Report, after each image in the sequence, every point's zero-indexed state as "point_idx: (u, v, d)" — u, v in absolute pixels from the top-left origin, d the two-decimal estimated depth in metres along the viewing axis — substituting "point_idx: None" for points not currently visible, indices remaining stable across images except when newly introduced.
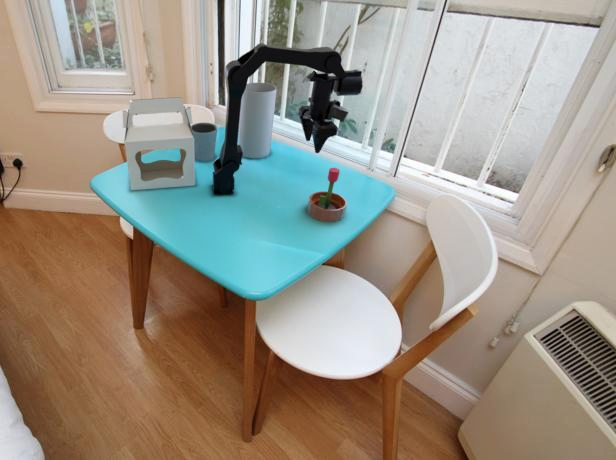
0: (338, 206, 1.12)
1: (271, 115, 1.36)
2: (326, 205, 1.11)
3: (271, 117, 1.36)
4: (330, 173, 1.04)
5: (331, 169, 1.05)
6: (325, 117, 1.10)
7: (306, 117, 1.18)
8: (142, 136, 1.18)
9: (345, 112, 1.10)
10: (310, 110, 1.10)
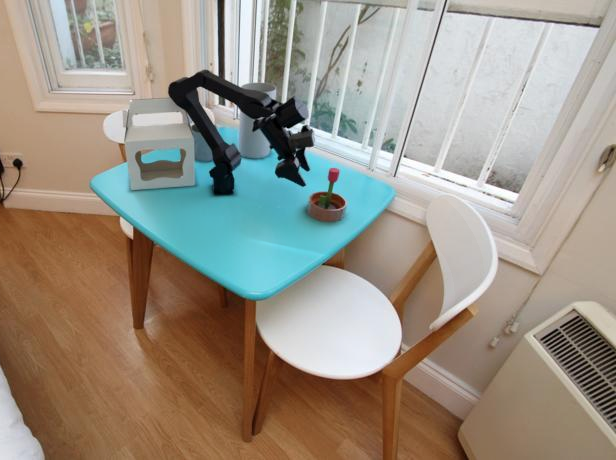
0: (338, 206, 1.12)
1: (271, 115, 1.36)
2: (326, 205, 1.11)
3: None
4: (330, 173, 1.04)
5: (331, 169, 1.05)
6: (290, 152, 1.04)
7: None
8: (142, 136, 1.18)
9: (306, 138, 1.01)
10: None
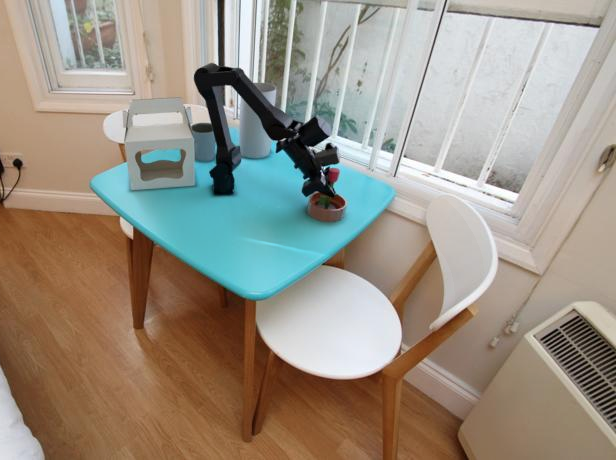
0: (338, 206, 1.12)
1: None
2: (326, 205, 1.11)
3: None
4: (330, 173, 1.04)
5: (331, 169, 1.05)
6: (315, 170, 1.04)
7: None
8: (142, 136, 1.18)
9: (331, 155, 1.00)
10: None
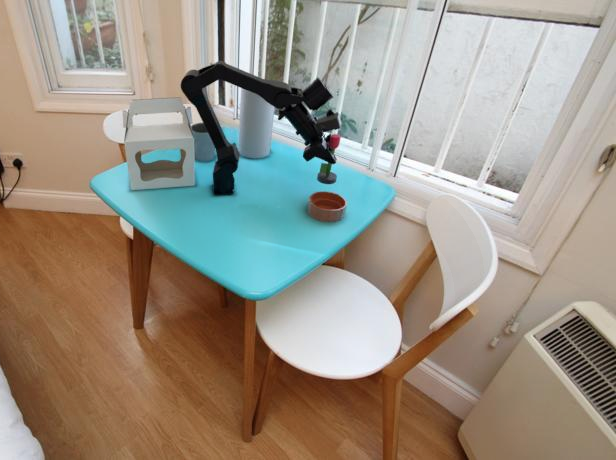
0: (338, 206, 1.12)
1: (271, 115, 1.36)
2: (327, 172, 1.13)
3: (271, 117, 1.36)
4: (331, 139, 1.06)
5: (332, 135, 1.06)
6: (317, 136, 1.06)
7: None
8: (142, 136, 1.18)
9: (332, 120, 1.02)
10: (302, 137, 1.10)
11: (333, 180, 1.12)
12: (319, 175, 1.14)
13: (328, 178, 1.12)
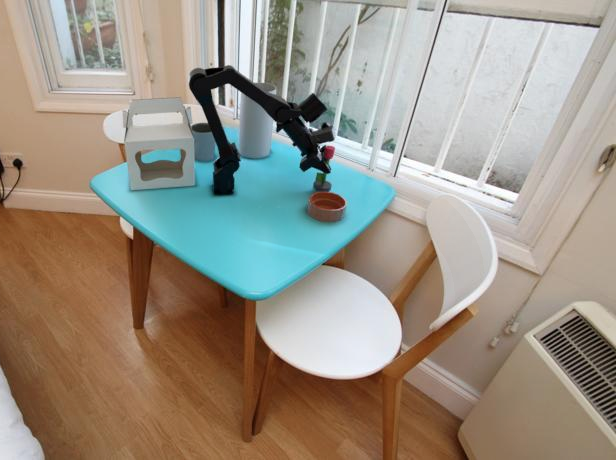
0: (338, 206, 1.12)
1: None
2: (322, 181, 1.19)
3: None
4: (326, 150, 1.12)
5: (327, 147, 1.13)
6: (312, 148, 1.12)
7: None
8: (142, 136, 1.18)
9: (327, 133, 1.08)
10: (299, 149, 1.16)
11: (328, 189, 1.18)
12: (315, 184, 1.20)
13: (323, 187, 1.18)
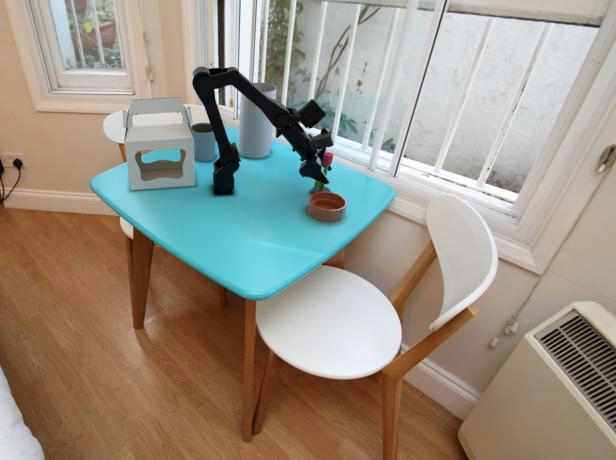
0: (338, 206, 1.12)
1: None
2: (321, 187, 1.20)
3: None
4: (324, 157, 1.14)
5: (325, 154, 1.14)
6: (312, 153, 1.13)
7: None
8: (142, 136, 1.18)
9: (326, 138, 1.09)
10: None
11: None
12: (314, 190, 1.21)
13: None
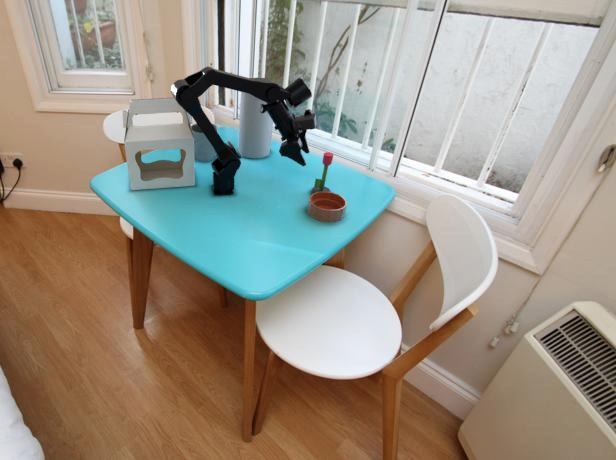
0: (338, 206, 1.12)
1: None
2: (321, 187, 1.20)
3: None
4: (324, 157, 1.14)
5: (325, 154, 1.14)
6: (293, 133, 1.13)
7: None
8: (142, 136, 1.18)
9: (309, 120, 1.10)
10: (280, 133, 1.17)
11: None
12: (314, 190, 1.21)
13: None
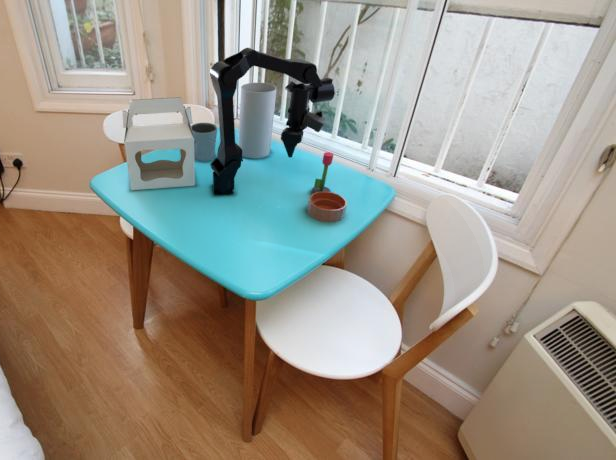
0: (338, 206, 1.12)
1: (271, 115, 1.36)
2: (321, 187, 1.20)
3: (271, 117, 1.36)
4: (324, 157, 1.14)
5: (325, 154, 1.14)
6: (299, 125, 1.17)
7: None
8: (142, 136, 1.18)
9: (319, 123, 1.15)
10: (288, 116, 1.19)
11: None
12: (314, 190, 1.21)
13: None
